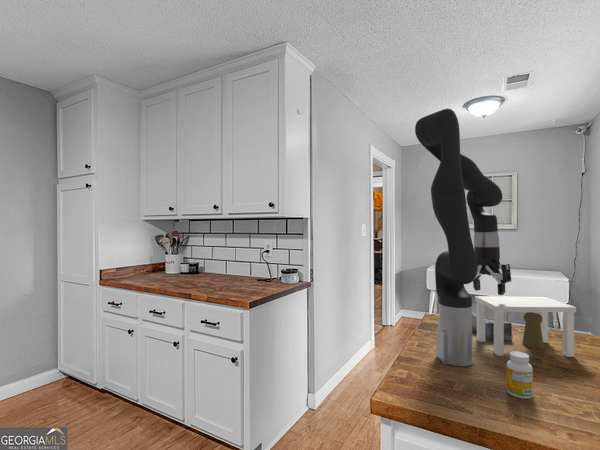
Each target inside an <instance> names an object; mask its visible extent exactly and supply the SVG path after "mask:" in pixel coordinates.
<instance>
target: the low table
mask: <svg viewBox="0 0 600 450" xmlns="http://www.w3.org/2000/svg"><path fill="white" fill-rule="evenodd" d="M474 301H475V302H476V313H477V333H476V341H477V342H479V343H483V342H484V343H486V339H485V319H486V308H488V309H490V310H492V311H493V321H494V340H493V354H495V355H496V356H498V357H499V356H504V355H505V354H504V353H505V351H504V350H505V347H504V345H505V343H504V342H505V340H504V321H505V320H504V319H505V318H504V317H505V316H504V314H505V313H527V312H533V313H538V314H540V315H541V316H542V323H541V324H540V326H541V332H542V338H543V344H545V343H546V344H548V343H549V313H562V355H563V356H565V357H567V358H569V357H570V358H571V357H572V358H574V357H575V313H577V306H574V305H570V304H568V303H565V302H562V301H558V300H556V299H552V298H550V297H547V296H518V295H517V296H516V295H515V296H508V295H507V296H506V295H505V296H504V295H497V296H496V295H491V296H490V295H489V296H488V295H486V296H484V295H482V296H480V295H477V296H476V295H475V296H474Z"/></svg>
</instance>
